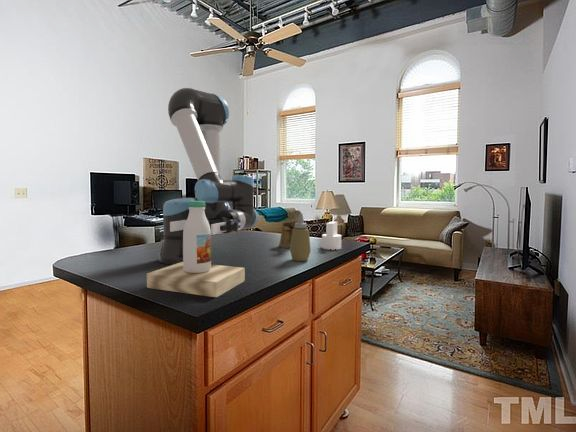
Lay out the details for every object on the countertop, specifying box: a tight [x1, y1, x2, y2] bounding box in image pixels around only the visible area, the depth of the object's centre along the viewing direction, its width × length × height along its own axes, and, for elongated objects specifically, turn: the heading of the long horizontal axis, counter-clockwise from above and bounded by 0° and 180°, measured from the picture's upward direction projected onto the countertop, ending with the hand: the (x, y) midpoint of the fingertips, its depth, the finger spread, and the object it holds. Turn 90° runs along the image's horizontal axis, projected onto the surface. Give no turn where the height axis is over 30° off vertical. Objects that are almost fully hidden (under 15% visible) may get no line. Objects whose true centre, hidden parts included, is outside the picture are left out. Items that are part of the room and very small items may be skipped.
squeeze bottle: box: [289, 213, 311, 262], centre depth 129 cm, size 8×8×18 cm
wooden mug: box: [278, 210, 303, 249], centre depth 156 cm, size 9×14×18 cm, turn 27°
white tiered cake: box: [321, 221, 342, 251], centre depth 157 cm, size 9×9×12 cm
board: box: [146, 262, 246, 298], centre depth 96 cm, size 22×16×4 cm
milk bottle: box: [183, 201, 212, 273], centre depth 95 cm, size 8×8×20 cm
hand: (191, 228), depth 92 cm, fingers open, 13 cm apart
